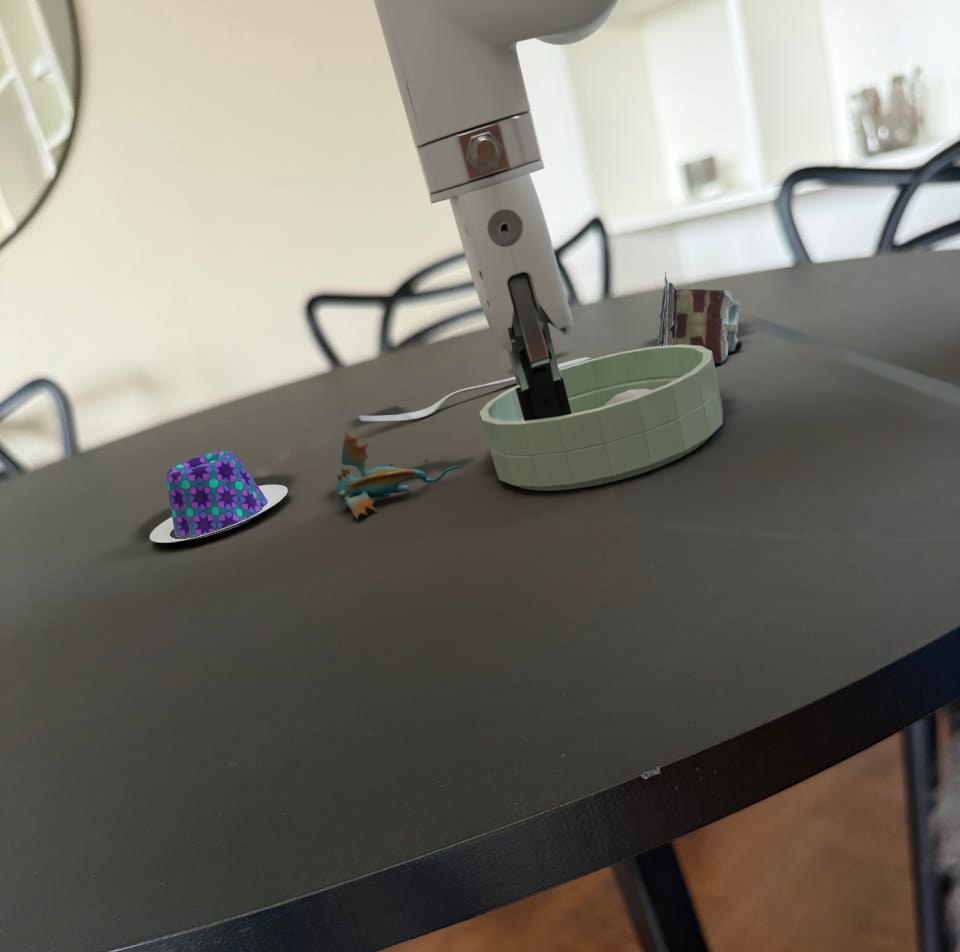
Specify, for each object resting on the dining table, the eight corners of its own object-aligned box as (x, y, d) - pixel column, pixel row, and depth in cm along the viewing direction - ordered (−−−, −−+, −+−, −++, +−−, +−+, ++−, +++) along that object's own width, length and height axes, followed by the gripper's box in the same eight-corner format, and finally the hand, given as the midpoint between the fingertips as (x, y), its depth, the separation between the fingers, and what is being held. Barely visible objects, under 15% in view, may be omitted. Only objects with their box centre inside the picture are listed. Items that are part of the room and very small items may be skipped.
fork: (595, 360, 103) (591, 342, 102) (367, 438, 100) (361, 420, 99) (584, 357, 105) (580, 340, 105) (362, 432, 103) (356, 415, 102)
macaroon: (604, 437, 74) (596, 403, 73) (614, 417, 78) (606, 385, 77) (663, 425, 72) (655, 391, 71) (670, 406, 77) (663, 373, 76)
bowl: (689, 397, 80) (676, 333, 78) (756, 443, 65) (743, 366, 63) (489, 456, 81) (472, 394, 78) (511, 516, 66) (490, 441, 64)
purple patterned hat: (319, 488, 86) (297, 429, 84) (218, 549, 78) (191, 485, 76) (226, 496, 94) (204, 442, 92) (124, 552, 85) (97, 494, 83)
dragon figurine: (415, 456, 83) (322, 452, 79) (457, 423, 76) (358, 417, 72) (426, 535, 82) (331, 535, 78) (469, 508, 75) (369, 507, 71)
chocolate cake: (747, 369, 84) (751, 245, 87) (660, 366, 85) (667, 243, 88) (730, 426, 93) (734, 312, 96) (651, 422, 94) (659, 309, 97)
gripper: (555, 138, 58) (626, 447, 65) (524, 149, 71) (585, 403, 79) (428, 178, 58) (513, 481, 66) (421, 181, 72) (492, 431, 79)
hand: (553, 437), depth 72 cm, fingers closed
